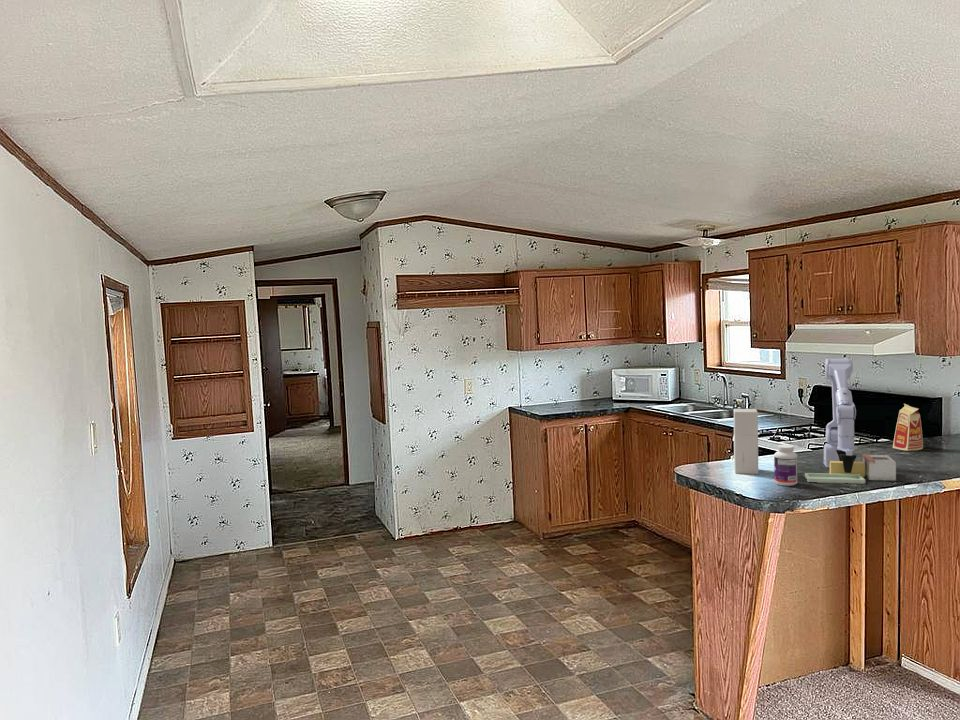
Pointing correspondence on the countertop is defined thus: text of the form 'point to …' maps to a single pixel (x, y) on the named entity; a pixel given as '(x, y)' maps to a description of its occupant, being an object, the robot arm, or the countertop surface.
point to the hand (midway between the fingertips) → (846, 470)
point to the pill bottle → (785, 466)
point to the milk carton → (908, 430)
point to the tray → (835, 478)
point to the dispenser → (879, 467)
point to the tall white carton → (746, 441)
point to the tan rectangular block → (838, 468)
